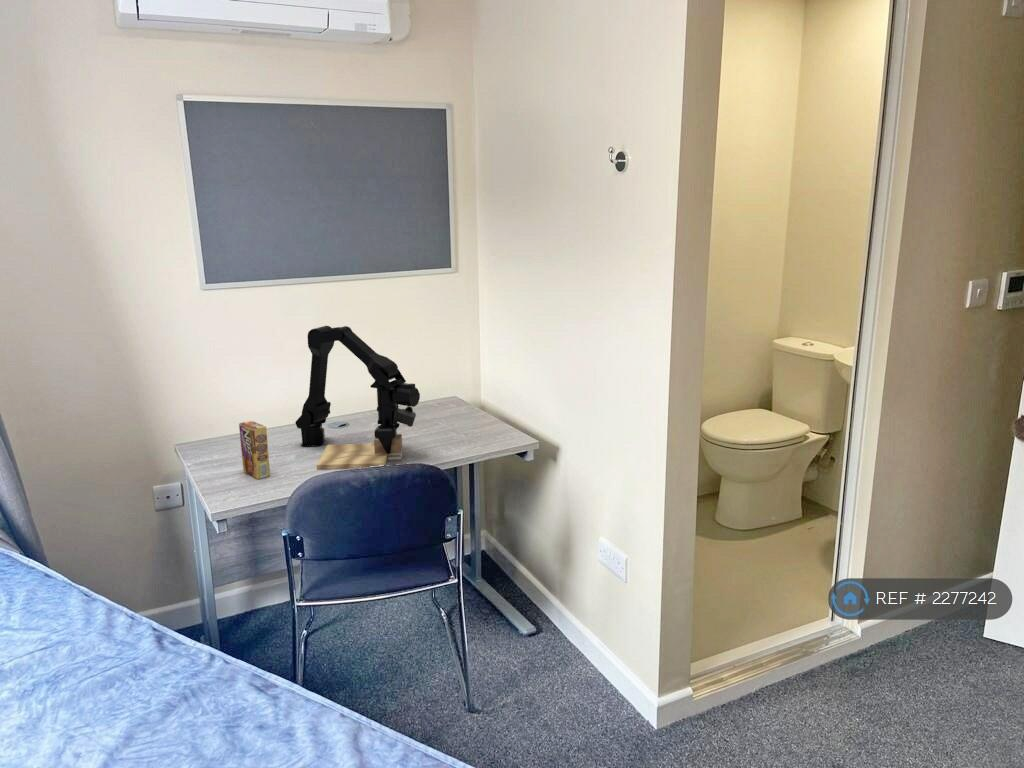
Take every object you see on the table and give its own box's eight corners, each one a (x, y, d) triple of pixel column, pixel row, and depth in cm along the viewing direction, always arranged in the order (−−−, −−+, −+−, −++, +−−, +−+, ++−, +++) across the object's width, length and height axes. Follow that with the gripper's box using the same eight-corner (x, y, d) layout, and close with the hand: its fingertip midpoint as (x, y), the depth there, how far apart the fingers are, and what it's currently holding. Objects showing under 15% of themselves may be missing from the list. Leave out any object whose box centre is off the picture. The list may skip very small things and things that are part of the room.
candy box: (271, 475, 219) (266, 426, 215) (258, 479, 216) (253, 429, 212) (256, 468, 225) (251, 419, 221) (243, 472, 222) (237, 423, 218)
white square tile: (388, 461, 231) (387, 457, 231) (389, 456, 235) (389, 452, 234) (401, 460, 231) (400, 457, 231) (402, 456, 235) (401, 452, 235)
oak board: (316, 469, 223) (316, 464, 223) (328, 449, 240) (327, 444, 240) (384, 467, 224) (384, 463, 224) (390, 447, 241) (390, 443, 241)
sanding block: (375, 455, 230) (373, 440, 228) (376, 450, 235) (375, 435, 233) (401, 454, 230) (400, 439, 229) (402, 449, 235) (401, 434, 234)
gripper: (411, 410, 220) (413, 460, 224) (415, 393, 238) (417, 440, 242) (372, 411, 219) (375, 461, 223) (380, 394, 237) (382, 441, 241)
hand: (389, 450), depth 232 cm, fingers closed on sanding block, 5 cm apart
